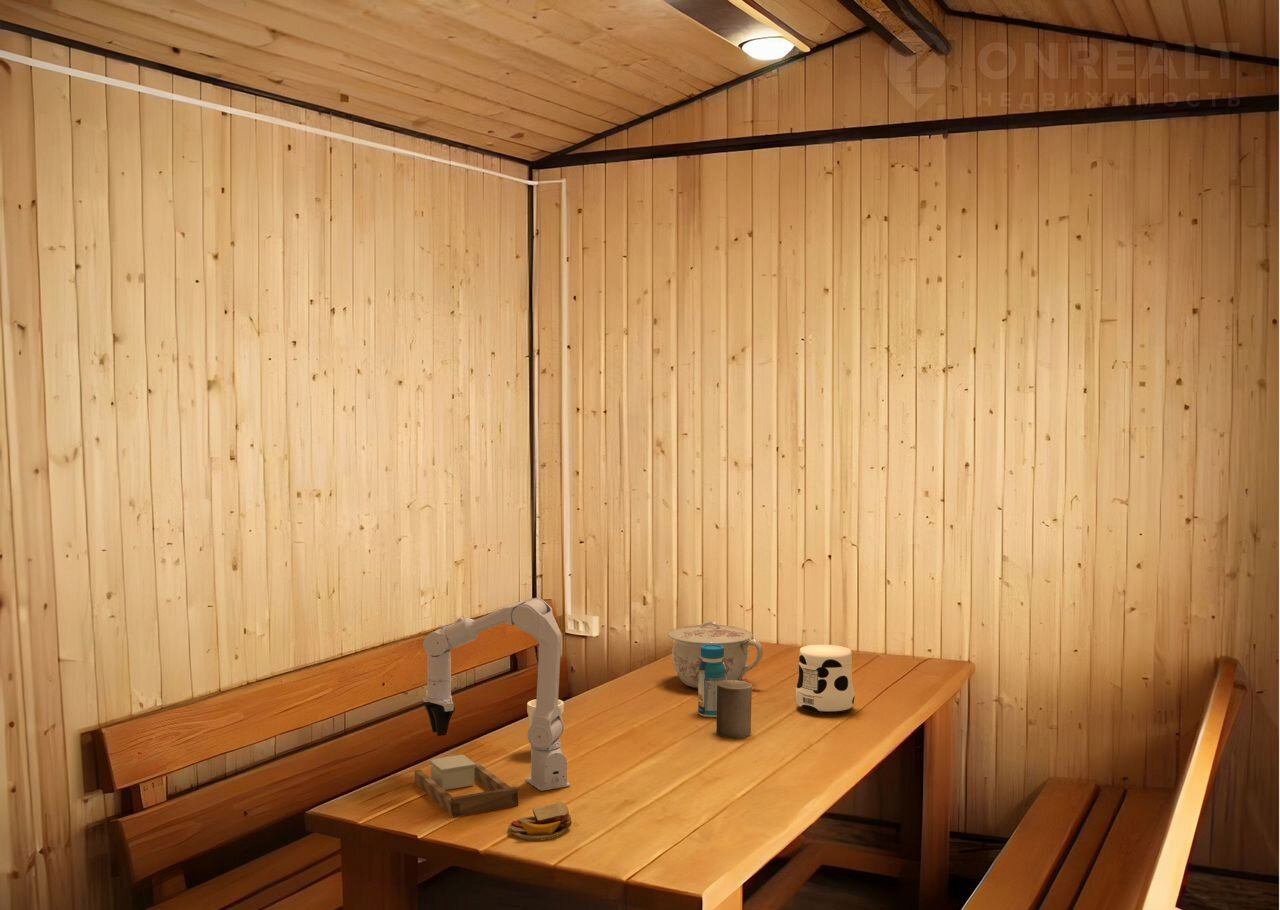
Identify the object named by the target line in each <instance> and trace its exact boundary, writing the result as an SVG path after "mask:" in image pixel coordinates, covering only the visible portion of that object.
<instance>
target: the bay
mask: <svg viewBox="0 0 1280 910" xmlns="http://www.w3.org/2000/svg"><path fill="white" fill-rule="evenodd" d="M471 761H472V760H471ZM472 762H474V763H475V764H476V768H474V779H475V780H477V781H478V782H479V783H481V784H482V785H483V786H484V787H486V788H487V789H488V788H489V790H487V791H482V792H475V793H470V794H465V795H459V796H452V795H451V794H450V793H449V792H447V790H444V789H443V788H442V787H440V786H439V785H438V784H437V783H436V782H435V781H433V780H432V779H431V776H429V775H428V774H426V773H425V772H424V771H423V770H422V769H417V770H416V769H415V770H414V784H415V785H416V786H417V787H419V788H420V789H421V790H422V792H424V793H426V794H427V795H428V796H429V797H430V798H431V799H432V800H433V801H434V802H436V803H437V804H438V805H439V806H440V807H441V809H443V808H444V810H445V812H446V813H448V814H449V813H450V814H451V815H452V816H453V817H452V816H451V815H450V814H449V815H450V816H451V817H452V818H457V817H463V816H469V815H474V814H475V815H476V814H479V813H486V812H492V811H496V810H501V809H507V808H512V807H513V808H514V807H517V806H519V787H517V786H515V785H514V786H509V784H507V783H506V782H504V780H502V779H500V778H499V777H497V776H496V775H495V774H494V773H492V772H491V771H490V770H489V769H487V768H485V767H484V766H483V765H482V764H480V763H479V762H477V760H473V761H472Z"/></svg>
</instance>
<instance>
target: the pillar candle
mask: <svg viewBox="0 0 1280 910" xmlns="http://www.w3.org/2000/svg"><path fill="white" fill-rule="evenodd" d="M752 688H753V685H752V683H750V682H747V681H745V680H739V681H738V680H725V681H721V682H718V684H717V717H716V730H715V734H716V735H718V736H720V737H724V738H731V739H739V738H740V739H741V738H746V737H749V736H751V733H752V732H751V731H752V698H753V696H752V695H753V694H752V691H753V689H752Z"/></svg>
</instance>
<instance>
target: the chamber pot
mask: <svg viewBox="0 0 1280 910" xmlns="http://www.w3.org/2000/svg"><path fill="white" fill-rule="evenodd" d="M667 637H669V638H670V639H672V640H674V641H675V642H674V644H673V645H672V648H671V657H672V658H671V659H672V662H673V666H674V671H675V673H676V674H677V676H678V677H679V679H680V681H681V682H682V683H683V684H685V685H686V686H687V687H691V688H693V689H695V690H698V675H699V671H698V668H699V665H700V663H701V661H702V660H703V658H701V646H703V645H708V644H715V645H721V646H723V647H724V658H723V659H722V661H723V662H724V664H725V666H726V672H725V675H726V677H727V680H738V681H742V678H744V676H745V675H746V674H747V673H748V672H749V671H751V670H753V669H754V668H756V667H757V666H758V664H760V663H761V661H762V660H763V657H764V648H763V646H762V644H761V642H760V641H759V640H757V639H756V638H753V637H754V635H753V633H752V632H751V631H749V630H746V629H744V628H741V627H737V626H736V627H735V626H731V625H722V624H718V623H717V622H715V621H711V620H710V621H704V622H703V623H701V624H693V625H684V626H681V627H677V628H673V629H671V630H670V631H668V632H667ZM749 646H754V647H755V648H756V653H757V654H756V655H757V656H756V659H755V660H754V661H753V662H752V663H751V665H748V661H749V648H748V647H749Z"/></svg>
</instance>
